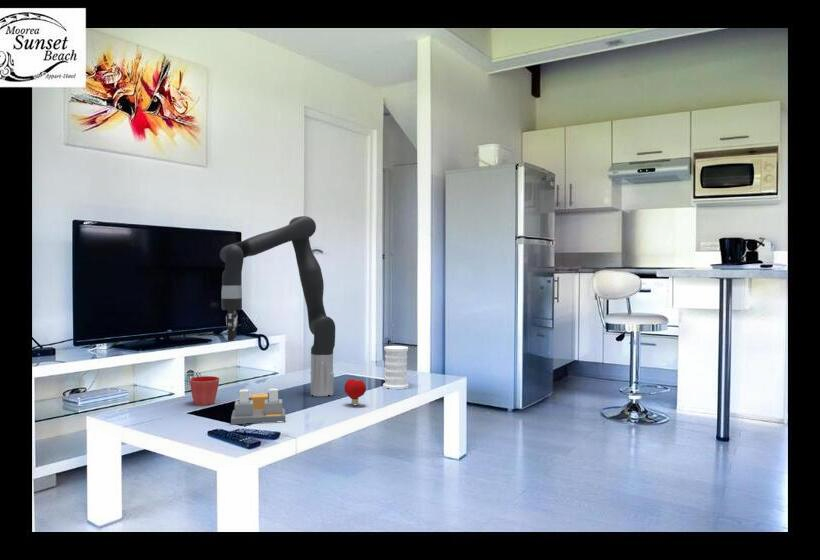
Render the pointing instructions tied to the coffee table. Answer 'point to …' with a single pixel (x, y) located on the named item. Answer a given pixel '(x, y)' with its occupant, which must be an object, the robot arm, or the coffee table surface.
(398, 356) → the decorative container
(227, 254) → the robot arm
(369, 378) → the coffee table surface
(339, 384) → the coffee table surface
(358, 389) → the light bulb
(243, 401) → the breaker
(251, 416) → the breaker panel
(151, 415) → the coffee table surface
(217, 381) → the flower pot
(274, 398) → the block
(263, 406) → the orange wooden cube
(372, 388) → the coffee table surface
